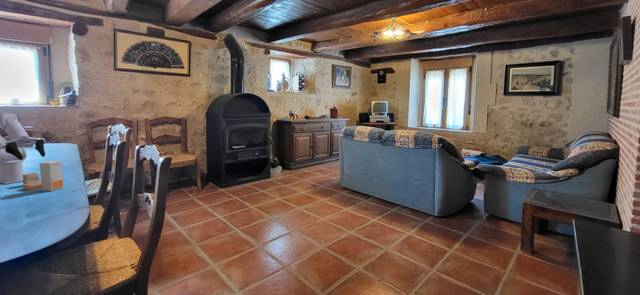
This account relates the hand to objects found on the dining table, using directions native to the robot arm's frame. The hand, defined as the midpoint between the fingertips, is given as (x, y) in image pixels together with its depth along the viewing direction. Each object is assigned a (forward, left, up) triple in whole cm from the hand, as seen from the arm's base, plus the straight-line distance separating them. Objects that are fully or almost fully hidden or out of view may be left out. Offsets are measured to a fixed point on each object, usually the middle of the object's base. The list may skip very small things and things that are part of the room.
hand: (33, 156), depth 130 cm
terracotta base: (+3, -1, -13) cm, 14 cm away
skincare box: (+11, +1, -14) cm, 17 cm away
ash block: (-5, 0, -13) cm, 14 cm away
